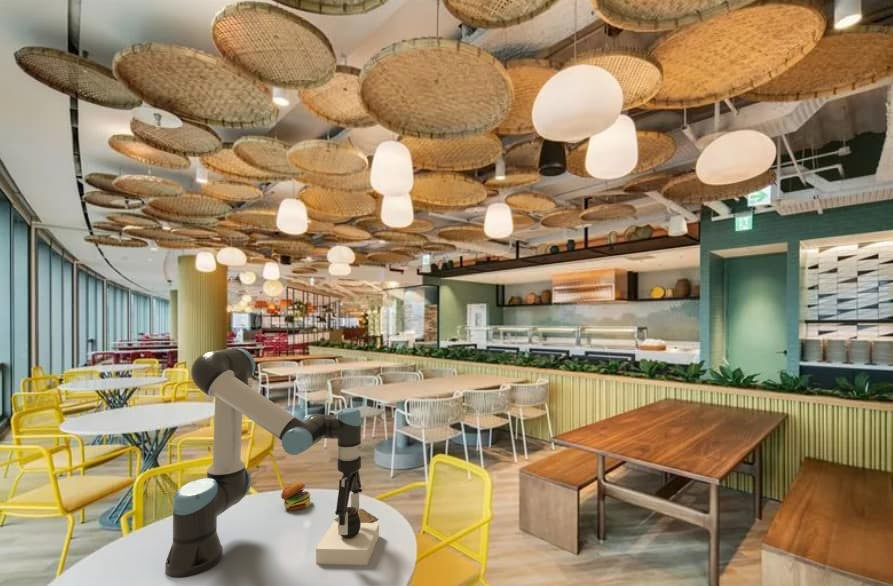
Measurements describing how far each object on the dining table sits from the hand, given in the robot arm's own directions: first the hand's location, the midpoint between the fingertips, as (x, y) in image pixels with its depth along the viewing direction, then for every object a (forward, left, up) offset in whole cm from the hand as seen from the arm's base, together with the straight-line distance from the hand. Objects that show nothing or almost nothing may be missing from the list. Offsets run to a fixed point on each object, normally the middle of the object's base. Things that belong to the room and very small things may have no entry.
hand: (349, 523), depth 134 cm
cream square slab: (0, 0, -9) cm, 9 cm away
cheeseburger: (-30, +29, -8) cm, 43 cm away
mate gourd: (0, 0, -4) cm, 4 cm away
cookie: (-3, +19, -9) cm, 21 cm away
